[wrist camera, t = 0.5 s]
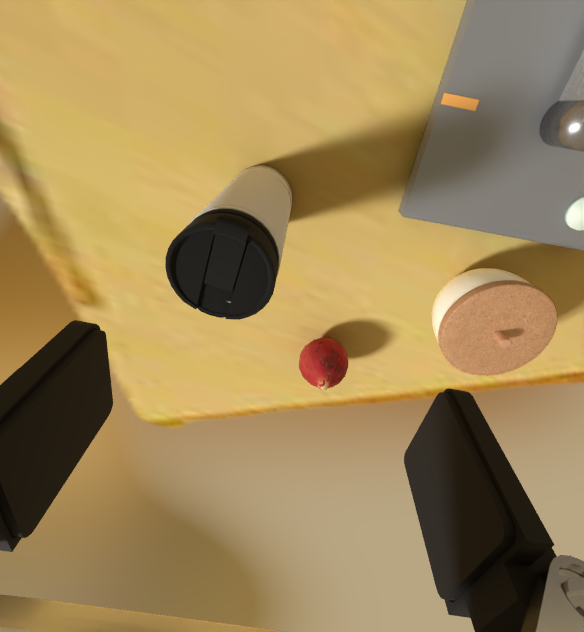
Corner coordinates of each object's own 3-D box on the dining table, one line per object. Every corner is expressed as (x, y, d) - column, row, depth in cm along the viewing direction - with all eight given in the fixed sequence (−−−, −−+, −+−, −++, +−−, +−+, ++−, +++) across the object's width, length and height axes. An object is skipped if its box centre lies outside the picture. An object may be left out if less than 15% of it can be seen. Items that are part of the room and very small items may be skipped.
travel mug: (302, 174, 35) (293, 242, 18) (281, 235, 38) (256, 342, 21) (241, 151, 34) (170, 198, 17) (225, 215, 37) (152, 310, 20)
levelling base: (486, -59, 26) (503, -75, 24) (738, -2, 27) (776, -11, 25) (398, 211, 36) (403, 218, 34) (582, 246, 37) (599, 255, 35)
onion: (314, 318, 43) (314, 358, 36) (354, 337, 44) (361, 379, 38) (292, 351, 46) (289, 394, 39) (330, 368, 47) (333, 413, 40)
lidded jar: (533, 302, 41) (587, 350, 33) (448, 349, 45) (478, 402, 37) (490, 233, 37) (540, 269, 29) (402, 291, 41) (424, 337, 33)
